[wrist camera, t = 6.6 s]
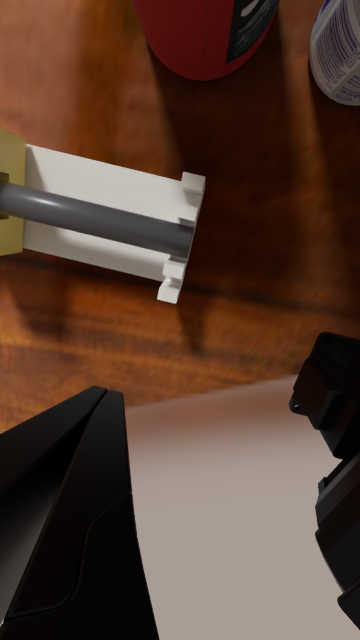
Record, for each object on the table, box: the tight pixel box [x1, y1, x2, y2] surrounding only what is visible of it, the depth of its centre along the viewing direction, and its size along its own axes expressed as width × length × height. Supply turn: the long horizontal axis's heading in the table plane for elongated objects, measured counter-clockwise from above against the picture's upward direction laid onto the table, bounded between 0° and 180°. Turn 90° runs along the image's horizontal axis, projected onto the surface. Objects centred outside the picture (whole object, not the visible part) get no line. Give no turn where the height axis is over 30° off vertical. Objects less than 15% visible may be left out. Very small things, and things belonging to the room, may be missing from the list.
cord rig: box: [0, 144, 205, 304], centre depth 15 cm, size 16×6×5 cm, turn 77°
